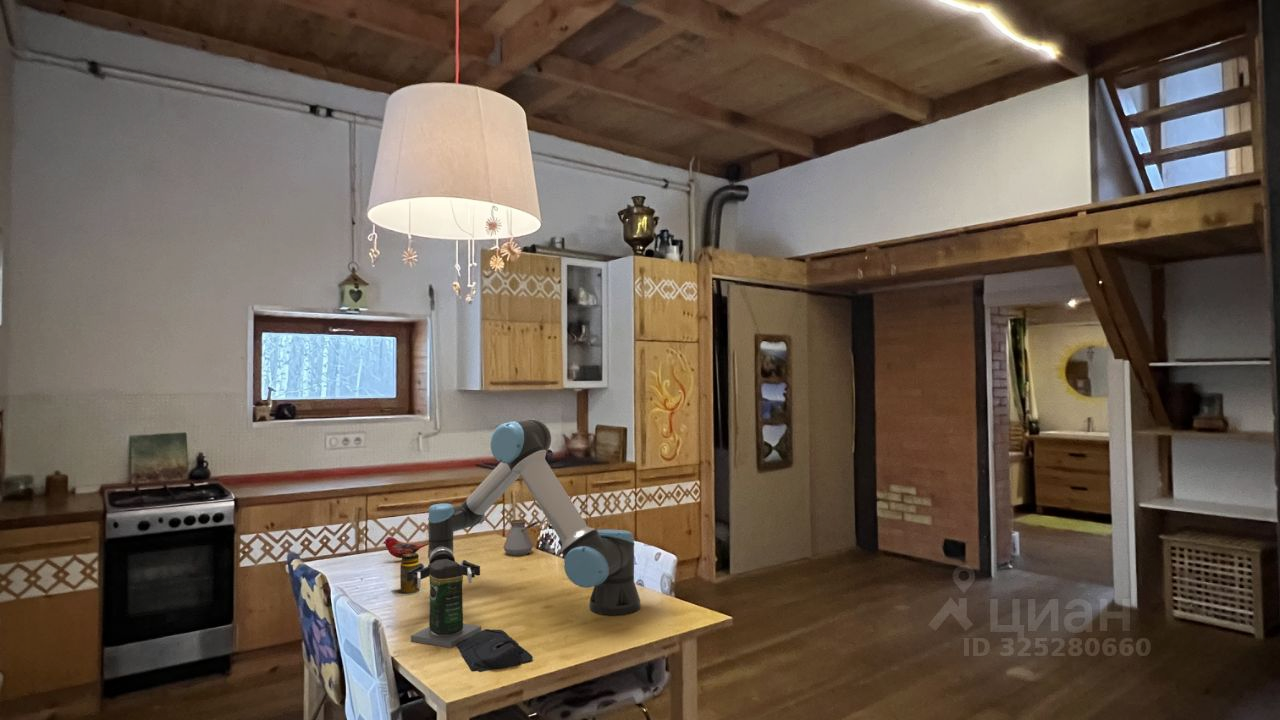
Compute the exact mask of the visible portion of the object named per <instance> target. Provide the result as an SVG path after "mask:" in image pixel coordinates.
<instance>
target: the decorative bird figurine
mask: <svg viewBox="0 0 1280 720" xmlns="http://www.w3.org/2000/svg"><path fill="white" fill-rule="evenodd" d="M382 544H384V545H385V547H386V549H387V551H388V552H389V554H390V555H391V556H393V557H394V558H398V559H401V560H402V555H403V554H406V553H417V552H418V551H419V550H420V549H422V548H424V547H427V546H429V542H427V543H423V544H420V545H416V544H415V543H414V544H413V543H410V542H403V541H400V540H398V539H397V538H395V537H392V536H387V537H386V538H385V540H384V541H383V542H382ZM401 560H396V561H394V563H399V562H400V563H402V561H401Z"/></svg>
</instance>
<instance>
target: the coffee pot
mask: <svg viewBox="0 0 1280 720" xmlns="http://www.w3.org/2000/svg"><path fill="white" fill-rule="evenodd" d="M526 523H527V520H526V519H513V520H510V521H509V524H510V525H511V527H510V530H509V533H508V535H507V536H506V540H505V543H504V544H503V549H504V552H505V553H507V554H508V556H512V557H522V556H527V555H528V554H529V553H530V552H531V551H532V550H533V547H534V544H533V543H532V540H531V538H530V535H529V533H528V531H527V530H528V529H530V528H533V527H535V526H538V524H540V525H539V527H541V526H542V522H540V521H539V520H537V521H534V522H532V523H530V524H528V525H527V526H525V525H526Z"/></svg>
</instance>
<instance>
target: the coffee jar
mask: <svg viewBox="0 0 1280 720" xmlns="http://www.w3.org/2000/svg"><path fill="white" fill-rule="evenodd" d="M428 578H429V614H428V615H429V618H428V619H429V622H428V623H429V625H428V627H429V628H430V630H431V631H432V632H434V633H435V634H438V635H452V634H455V633H457V632H459V631H462V629H463V623H464V610H463V608H464V606H463V602H464V601H463V579H464V575H463V567H462V565H460V563H459V562H457V563H456V561H455V562H453V561H450V560H449V559H443V560H436V561H434V562H433V563H432V564H431V565H430V570H429V577H428Z"/></svg>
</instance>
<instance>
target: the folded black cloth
mask: <svg viewBox="0 0 1280 720" xmlns="http://www.w3.org/2000/svg"><path fill="white" fill-rule="evenodd" d="M455 647H456V648H457V649H458V650H459V653H460V656H461V657H462V659H463V660H464V663H466V665H467V666H468V669H469V670H470V671H471V672H479V673H483V672H489V671H493V670H503V669H508V668H513V667H517V666H519V665H523V664H526V663H528V662H532V661H533V658H534V657H533V656H532V654H531V653H530V652H529V651H527V650H526V649H525V648H523V647H522V646H520V644H519V643H518V642H517V641H516V640H514V639H513V638H512V637H511V636H510V635H508V634H507V632H506V631H504V630H503V629H495V628H494V629H490V628H485V629H483V630H482V629H481V631H480V632H478V633H476V634H474V635H473V636H471V637H468V638H466V639H463V640H462V641H460V642H459V643H457V645H456V646H455Z"/></svg>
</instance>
